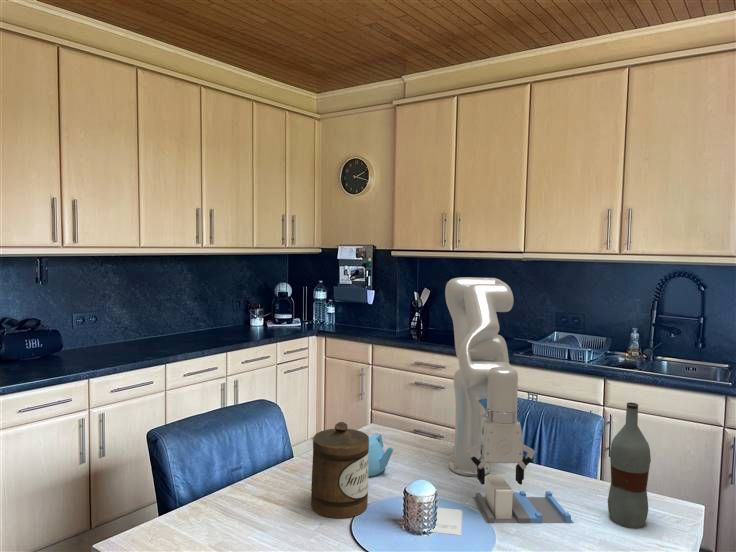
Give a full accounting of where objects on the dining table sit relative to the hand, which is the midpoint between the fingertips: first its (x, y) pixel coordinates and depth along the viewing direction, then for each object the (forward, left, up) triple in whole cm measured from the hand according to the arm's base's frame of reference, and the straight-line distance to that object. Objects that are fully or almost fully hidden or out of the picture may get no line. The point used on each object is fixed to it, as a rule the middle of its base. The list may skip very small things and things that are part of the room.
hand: (500, 482), depth 139 cm
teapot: (-28, -34, -9) cm, 45 cm away
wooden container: (-5, -41, -9) cm, 42 cm away
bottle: (+3, +32, -9) cm, 33 cm away
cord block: (-1, 0, -8) cm, 7 cm away
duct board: (-1, +6, -8) cm, 10 cm away
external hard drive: (+5, -15, -9) cm, 18 cm away
